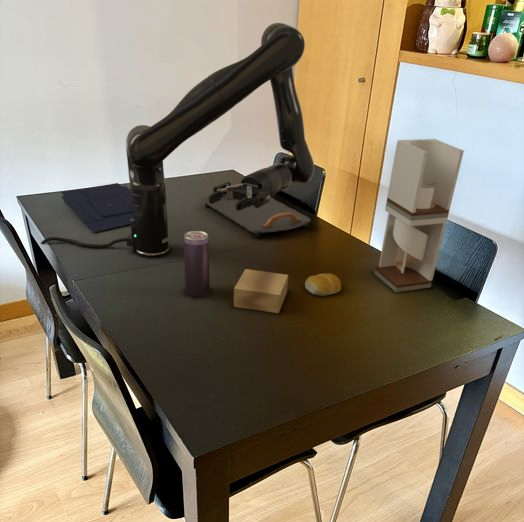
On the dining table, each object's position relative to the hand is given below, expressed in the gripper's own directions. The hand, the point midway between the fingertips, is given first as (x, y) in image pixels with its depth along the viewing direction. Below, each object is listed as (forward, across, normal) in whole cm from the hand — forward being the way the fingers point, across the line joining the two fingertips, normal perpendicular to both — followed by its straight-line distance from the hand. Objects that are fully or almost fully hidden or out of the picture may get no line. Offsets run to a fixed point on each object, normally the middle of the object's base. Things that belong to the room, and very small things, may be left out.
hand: (223, 203), depth 133 cm
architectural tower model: (-28, +37, +23) cm, 52 cm away
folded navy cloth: (-12, -59, +19) cm, 63 cm away
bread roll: (-10, +24, +21) cm, 33 cm away
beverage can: (+12, 0, +19) cm, 23 cm away
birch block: (+5, +14, +20) cm, 25 cm away
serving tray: (-40, -20, +21) cm, 50 cm away
